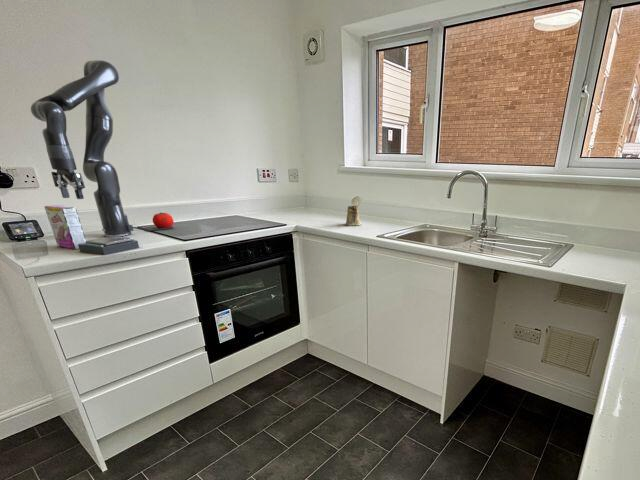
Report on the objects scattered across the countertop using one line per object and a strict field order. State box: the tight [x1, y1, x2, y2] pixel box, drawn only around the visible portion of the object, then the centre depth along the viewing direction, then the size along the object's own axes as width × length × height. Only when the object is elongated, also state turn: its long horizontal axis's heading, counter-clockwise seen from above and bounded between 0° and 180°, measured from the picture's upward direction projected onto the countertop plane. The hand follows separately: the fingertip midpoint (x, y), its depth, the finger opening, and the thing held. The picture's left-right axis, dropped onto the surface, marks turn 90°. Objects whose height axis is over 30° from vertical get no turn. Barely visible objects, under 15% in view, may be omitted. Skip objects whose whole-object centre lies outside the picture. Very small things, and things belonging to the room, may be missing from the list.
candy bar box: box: [44, 204, 87, 250], centre depth 141 cm, size 11×5×16 cm, turn 71°
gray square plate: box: [86, 236, 135, 245], centre depth 142 cm, size 11×11×1 cm
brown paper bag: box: [345, 196, 362, 227], centre depth 213 cm, size 9×14×18 cm, turn 27°
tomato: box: [151, 212, 175, 229], centre depth 186 cm, size 9×10×8 cm
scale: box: [78, 239, 140, 256], centre depth 142 cm, size 14×13×3 cm
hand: (73, 198), depth 148 cm, fingers open, 8 cm apart
